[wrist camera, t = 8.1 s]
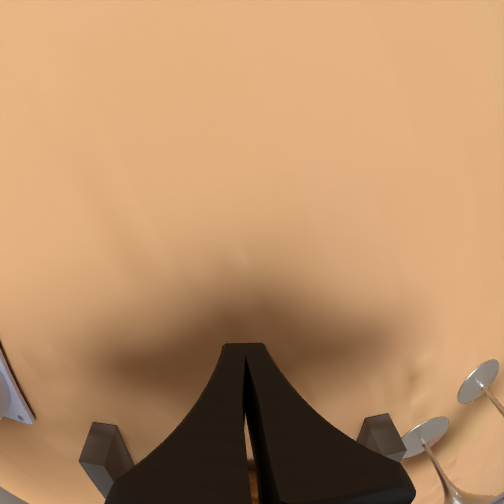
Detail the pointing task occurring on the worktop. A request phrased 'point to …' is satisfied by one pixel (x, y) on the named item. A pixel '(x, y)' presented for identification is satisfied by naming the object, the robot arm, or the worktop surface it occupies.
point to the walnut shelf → (119, 461)
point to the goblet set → (435, 428)
